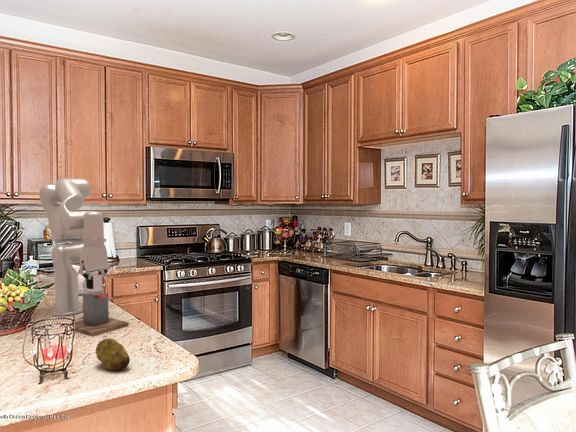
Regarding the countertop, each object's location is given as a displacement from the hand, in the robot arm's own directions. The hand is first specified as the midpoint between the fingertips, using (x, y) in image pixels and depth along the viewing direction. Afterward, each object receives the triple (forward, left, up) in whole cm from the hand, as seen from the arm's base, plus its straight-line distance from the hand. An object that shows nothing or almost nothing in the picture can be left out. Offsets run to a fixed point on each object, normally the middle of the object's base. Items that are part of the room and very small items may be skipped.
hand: (95, 287), depth 180 cm
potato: (+43, -22, -16) cm, 51 cm away
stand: (0, 0, -16) cm, 16 cm away
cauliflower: (-67, +31, -17) cm, 76 cm away
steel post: (0, 0, -14) cm, 14 cm away
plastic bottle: (-16, +8, -16) cm, 24 cm away
